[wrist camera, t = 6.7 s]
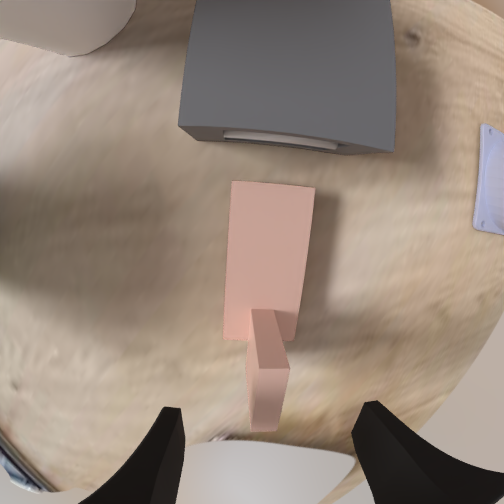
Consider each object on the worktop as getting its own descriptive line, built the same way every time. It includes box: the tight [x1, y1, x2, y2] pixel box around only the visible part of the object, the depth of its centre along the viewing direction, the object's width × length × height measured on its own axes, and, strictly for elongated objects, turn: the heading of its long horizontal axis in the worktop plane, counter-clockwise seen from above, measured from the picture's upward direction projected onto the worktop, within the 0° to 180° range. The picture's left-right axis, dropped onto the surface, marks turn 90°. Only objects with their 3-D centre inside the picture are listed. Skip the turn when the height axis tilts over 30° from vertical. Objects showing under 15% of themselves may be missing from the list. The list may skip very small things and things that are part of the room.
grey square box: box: [178, 0, 396, 155], centre depth 11 cm, size 8×8×5 cm
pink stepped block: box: [223, 180, 315, 431], centre depth 13 cm, size 4×10×5 cm, turn 175°
